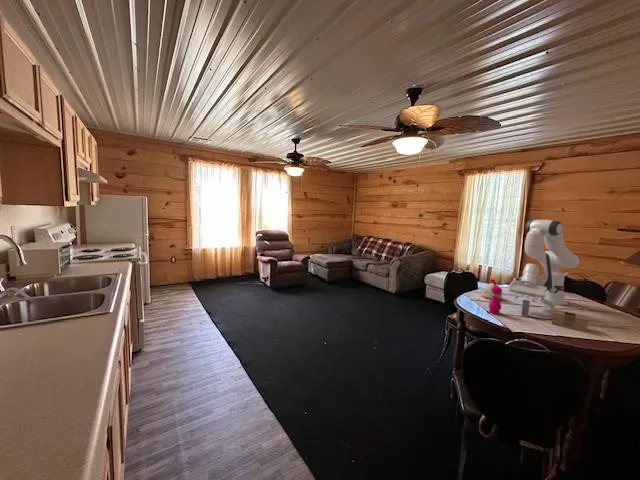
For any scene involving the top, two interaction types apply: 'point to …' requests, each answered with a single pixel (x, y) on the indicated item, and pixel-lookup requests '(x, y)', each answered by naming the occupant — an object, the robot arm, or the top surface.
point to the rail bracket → (525, 308)
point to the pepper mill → (495, 300)
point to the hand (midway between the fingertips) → (524, 299)
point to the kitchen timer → (489, 291)
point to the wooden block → (570, 320)
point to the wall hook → (547, 309)
